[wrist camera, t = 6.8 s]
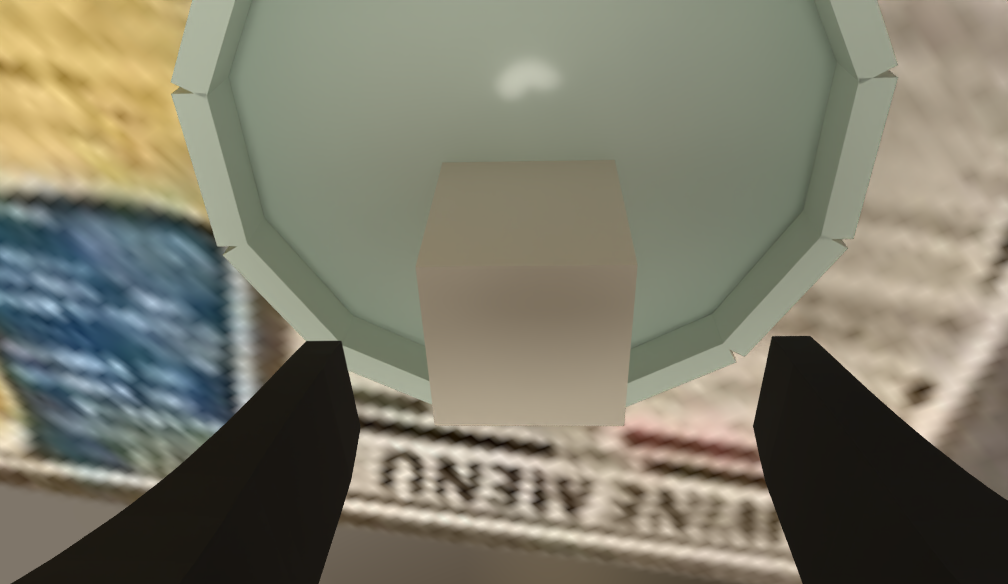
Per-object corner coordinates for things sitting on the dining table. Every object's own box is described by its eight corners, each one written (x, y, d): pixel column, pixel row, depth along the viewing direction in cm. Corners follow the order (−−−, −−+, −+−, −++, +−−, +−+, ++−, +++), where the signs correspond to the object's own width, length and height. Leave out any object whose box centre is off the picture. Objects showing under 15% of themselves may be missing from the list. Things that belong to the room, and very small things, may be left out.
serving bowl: (940, -269, 14) (996, -279, 12) (785, 371, 23) (804, 416, 21) (124, -231, 14) (71, -235, 13) (287, 372, 24) (268, 416, 22)
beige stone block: (614, 159, 18) (637, 265, 14) (606, 301, 21) (624, 426, 17) (442, 162, 18) (415, 266, 14) (454, 302, 21) (435, 425, 17)
